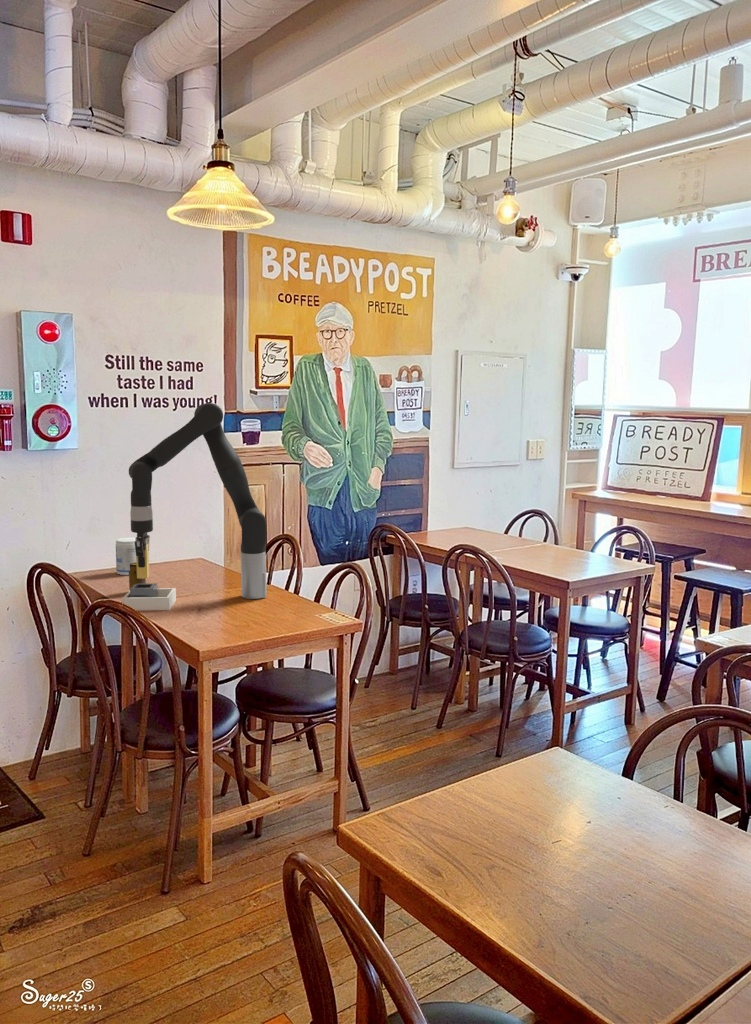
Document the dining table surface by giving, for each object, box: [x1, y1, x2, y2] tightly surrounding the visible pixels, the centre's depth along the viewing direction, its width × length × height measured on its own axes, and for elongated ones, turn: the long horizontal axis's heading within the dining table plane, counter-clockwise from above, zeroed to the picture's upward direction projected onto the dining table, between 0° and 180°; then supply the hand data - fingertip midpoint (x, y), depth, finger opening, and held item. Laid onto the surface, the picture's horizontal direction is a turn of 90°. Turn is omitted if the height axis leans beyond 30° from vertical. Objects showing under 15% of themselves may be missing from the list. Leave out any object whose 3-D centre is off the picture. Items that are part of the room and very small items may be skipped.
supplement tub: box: [115, 537, 136, 576], centre depth 343 cm, size 10×10×15 cm
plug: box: [136, 544, 150, 579], centre depth 289 cm, size 4×4×12 cm
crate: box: [122, 587, 177, 611], centre depth 291 cm, size 16×14×5 cm
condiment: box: [128, 562, 147, 592], centre depth 308 cm, size 7×8×12 cm
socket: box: [130, 582, 158, 597], centre depth 291 cm, size 8×8×7 cm
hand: (143, 565), depth 289 cm, fingers closed on plug, 3 cm apart
